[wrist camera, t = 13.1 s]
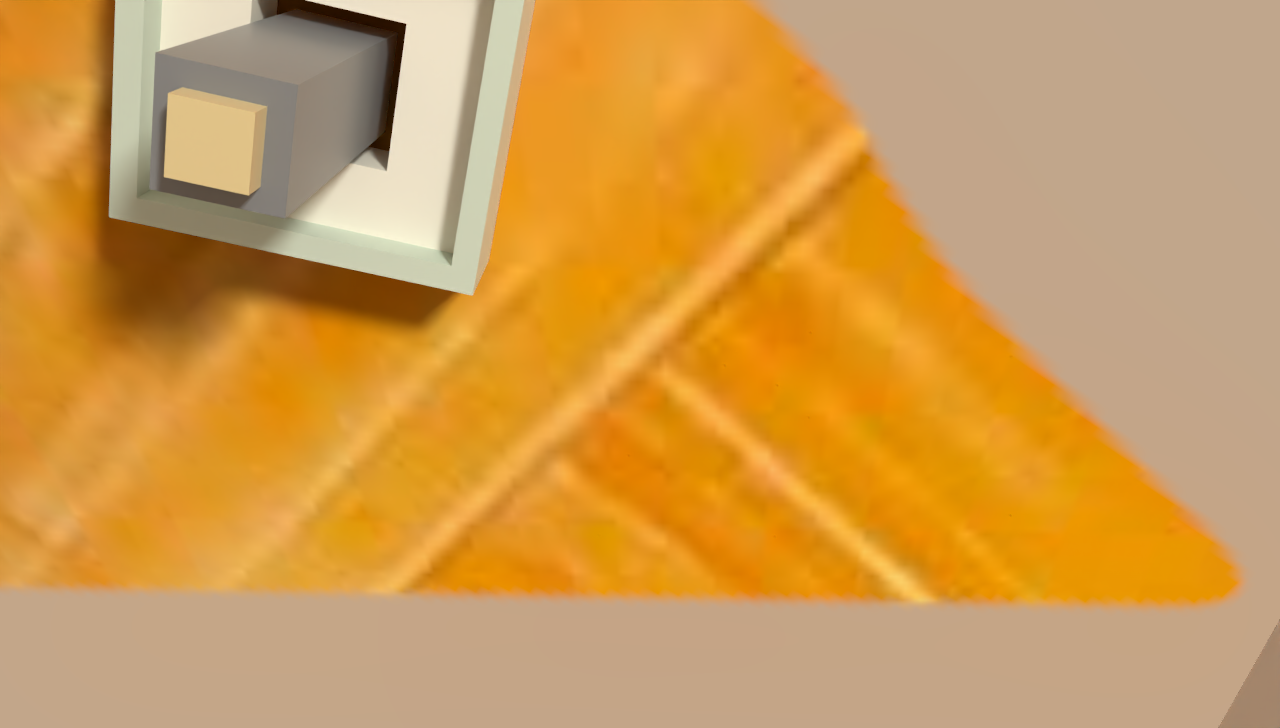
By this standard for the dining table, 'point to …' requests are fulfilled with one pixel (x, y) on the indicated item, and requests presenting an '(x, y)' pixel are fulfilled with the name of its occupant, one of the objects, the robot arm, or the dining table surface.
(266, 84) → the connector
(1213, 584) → the dining table surface
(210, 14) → the walled box
